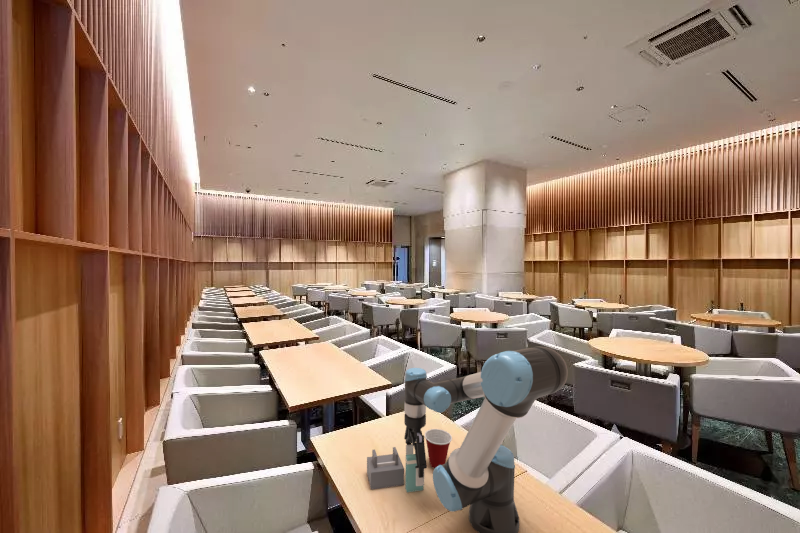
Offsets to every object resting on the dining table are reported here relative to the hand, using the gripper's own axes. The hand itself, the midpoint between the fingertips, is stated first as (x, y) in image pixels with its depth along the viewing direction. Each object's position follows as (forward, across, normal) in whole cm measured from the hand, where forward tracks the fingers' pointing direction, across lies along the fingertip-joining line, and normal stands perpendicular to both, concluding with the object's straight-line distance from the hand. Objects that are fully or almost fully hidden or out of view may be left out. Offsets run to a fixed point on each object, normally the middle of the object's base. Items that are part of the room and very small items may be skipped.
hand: (414, 473), depth 125 cm
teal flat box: (+6, 0, 0) cm, 6 cm away
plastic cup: (+6, +12, -13) cm, 19 cm away
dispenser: (+6, +8, +9) cm, 13 cm away
